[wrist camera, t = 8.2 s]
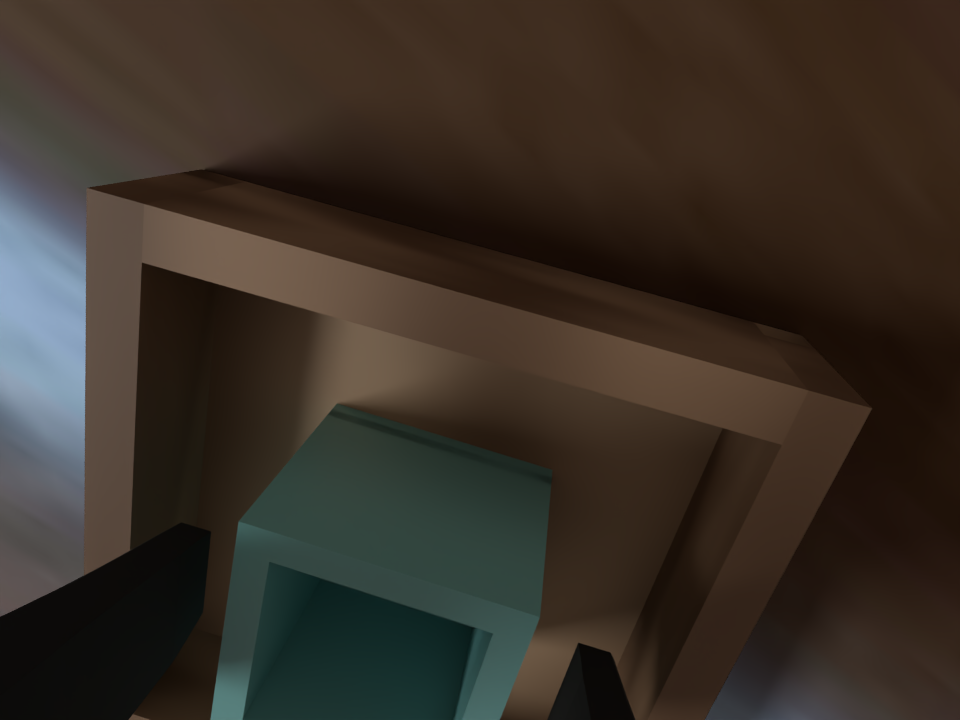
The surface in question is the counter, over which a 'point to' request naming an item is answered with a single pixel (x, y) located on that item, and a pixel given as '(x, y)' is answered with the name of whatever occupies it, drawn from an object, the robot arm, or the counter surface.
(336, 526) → the small crate
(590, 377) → the big crate
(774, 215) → the counter surface
